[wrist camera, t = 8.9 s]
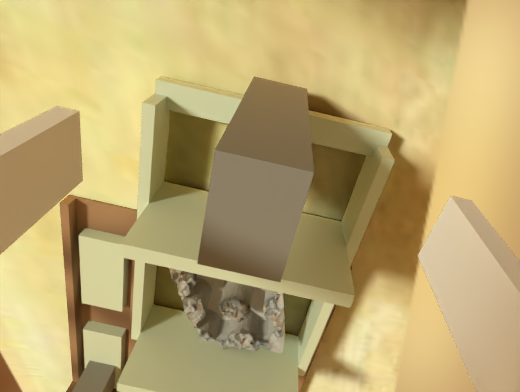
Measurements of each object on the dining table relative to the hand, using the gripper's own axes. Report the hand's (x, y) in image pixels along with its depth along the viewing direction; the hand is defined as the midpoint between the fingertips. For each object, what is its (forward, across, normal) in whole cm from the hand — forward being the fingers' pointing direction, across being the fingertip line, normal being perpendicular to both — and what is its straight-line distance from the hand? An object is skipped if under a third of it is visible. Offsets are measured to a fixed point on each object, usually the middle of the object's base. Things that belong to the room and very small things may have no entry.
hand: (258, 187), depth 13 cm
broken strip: (+10, -10, -22) cm, 27 cm away
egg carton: (+10, 0, -13) cm, 17 cm away
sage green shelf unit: (+10, 0, -9) cm, 14 cm away
